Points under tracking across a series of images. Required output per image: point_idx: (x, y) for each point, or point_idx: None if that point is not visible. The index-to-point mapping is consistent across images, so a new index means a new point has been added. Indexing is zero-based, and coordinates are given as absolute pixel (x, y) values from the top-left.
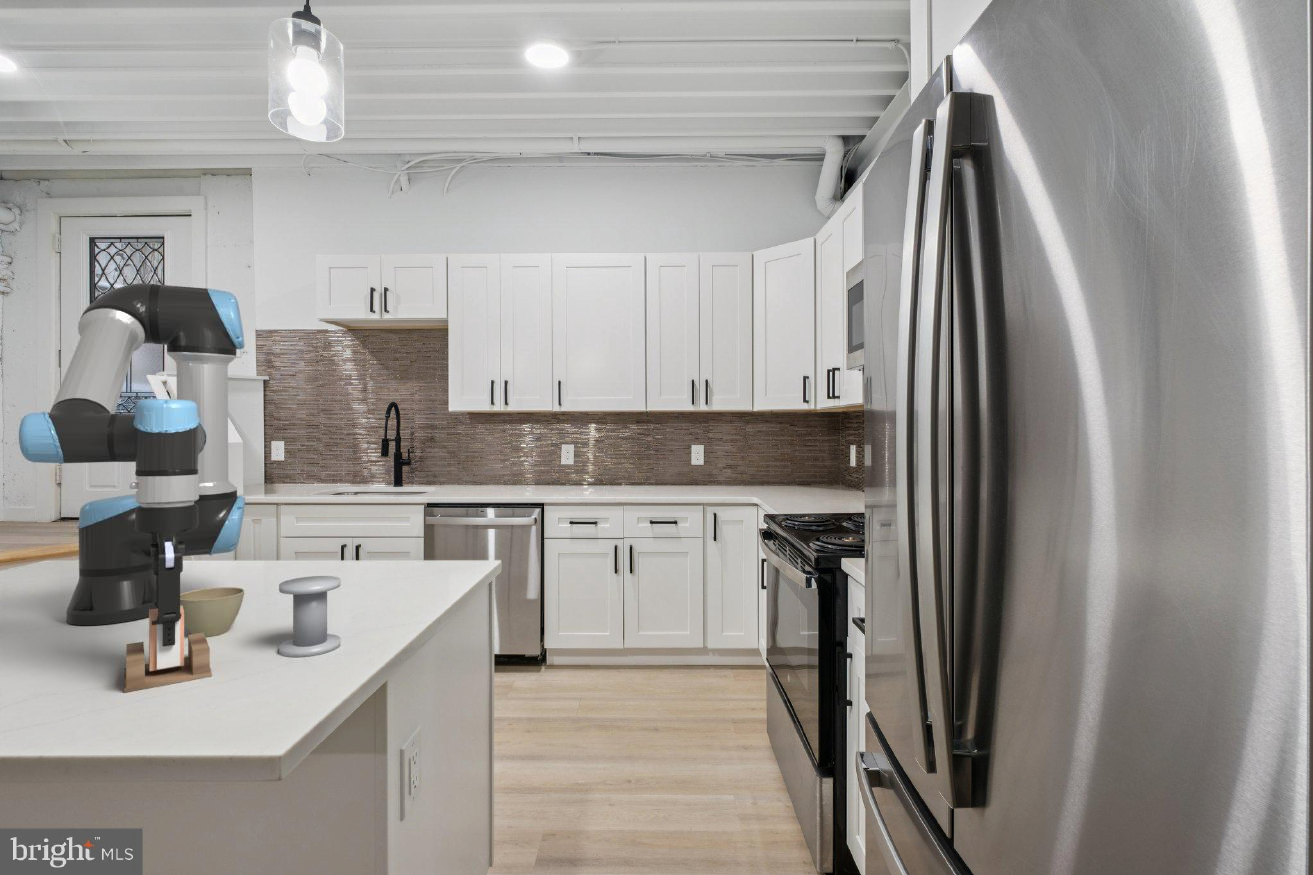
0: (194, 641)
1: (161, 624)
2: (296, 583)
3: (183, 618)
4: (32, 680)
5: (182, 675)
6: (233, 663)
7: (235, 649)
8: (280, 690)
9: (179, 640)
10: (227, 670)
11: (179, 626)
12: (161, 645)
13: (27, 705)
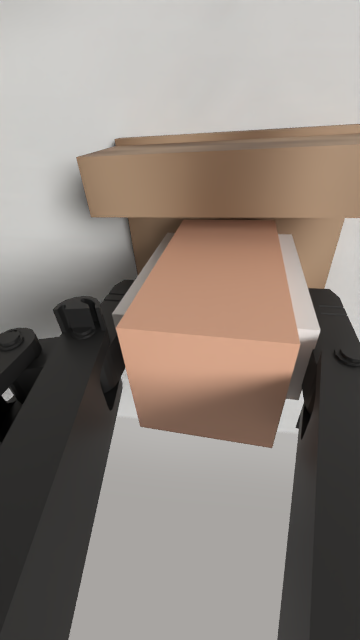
0: (215, 202)
1: (300, 383)
2: None
3: (291, 315)
4: (121, 403)
5: (320, 220)
6: (255, 19)
7: (50, 5)
8: None
9: (303, 276)
10: (341, 52)
11: (313, 312)
12: None
13: None
